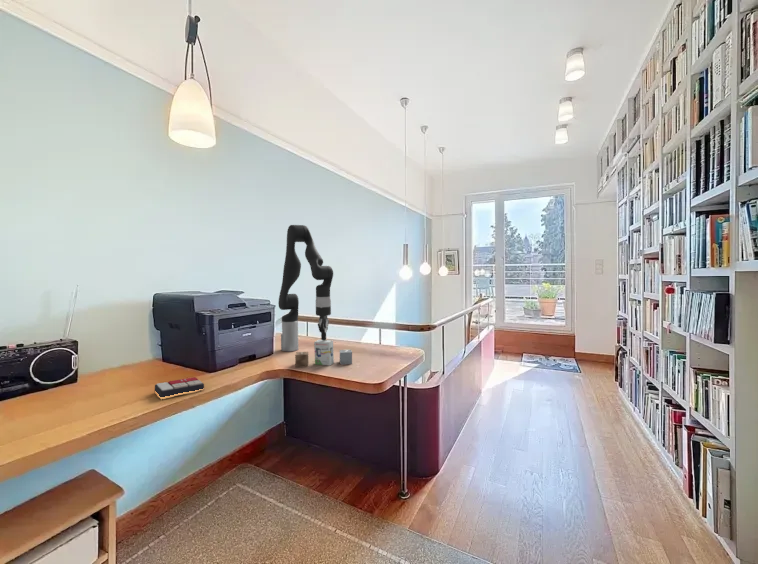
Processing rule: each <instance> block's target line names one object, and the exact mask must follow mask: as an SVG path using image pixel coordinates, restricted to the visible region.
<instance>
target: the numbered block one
mask: <svg viewBox="0 0 758 564" xmlns="http://www.w3.org/2000/svg"><path fill="white" fill-rule="evenodd" d="M295 352H296V351H295ZM294 358H295V361H294V362H295V368H303V367H304V368H305V367H309V363H310V362H309V351H297V352H296V353H295V357H294Z"/></svg>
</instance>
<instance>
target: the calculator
mask: <svg viewBox="0 0 758 564" xmlns="http://www.w3.org/2000/svg"><path fill="white" fill-rule="evenodd" d="M203 388H204V389H205V384H204V382H202V381H201V380H200V379H199V378H197V377H193V376H192V377H187V378H181V379H175V380H169V381H168V382H167V381H165V382H159V383H156V384H154V392H155V391H156V392H157V393H158V394H159V396H160V397H165V396H170V395H174V394H178V393H183V392H189V391H195V390H199V389H203Z"/></svg>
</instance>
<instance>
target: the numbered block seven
mask: <svg viewBox="0 0 758 564" xmlns="http://www.w3.org/2000/svg"><path fill="white" fill-rule="evenodd" d="M339 363H340V364H341V365H353V351H352V349H339ZM340 364H339V365H340Z"/></svg>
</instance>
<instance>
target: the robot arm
mask: <svg viewBox="0 0 758 564" xmlns="http://www.w3.org/2000/svg"><path fill="white" fill-rule="evenodd" d="M286 232H287V233H286V248H285V249H286V250H285V258H284V264H283V272H282V281H281V287H280V292H279V297H278V308H279V309H280V310H281V311H288V310H289V312H288V313H286V314H285V315H282V317H281V334H280V351H283V352H296V351H298V350H299V303H300V302H299V296H298V294H296V293H289V291H290V289H291V288H292V286H293V285H294V284H295V282H296V281H297V280H298V279H299V277H300V276H301V275H300V274H301V269H302V263H301V260H300V257H298V254H297V252H296V247H295V246H296V243H304V244H305V245H306V246H305V250H304V255H305V259H306V261H307V262H308V264H309V268H310V270H311V271H310V272H311V276H312V278H313V279H315V280H316V281H322V283H321V284H318V285H316V287H315V315H316V316H317V317H318V316H319V319H318V323H317V328H318V332H319V333H320V336H321V337H320V338H321V339H320V340H327V332H328V329H329V323H330V322H329V321H330V319H329V317H328V316H330V315H332V308H331V307H332V301H331V286H332V283H333V277H334V270H333V268H332V266H330V265H323V264H324V259H323V258H322V256H321V254H320V252H319V251H318V249H317V247H316V245H315V242H314V238H313V236H312V234H311V232H310V230H309V227H308V226H307V225H304V224H290V225H289V226H288V228H287V231H286Z"/></svg>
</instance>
